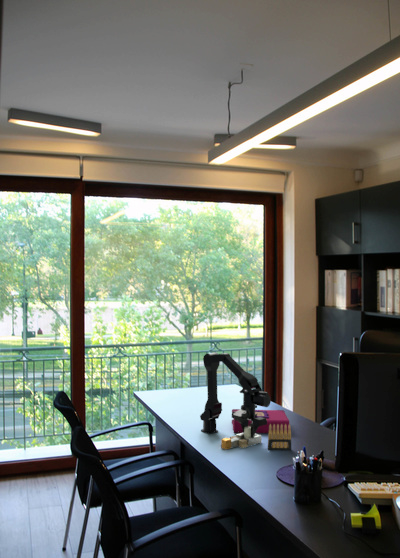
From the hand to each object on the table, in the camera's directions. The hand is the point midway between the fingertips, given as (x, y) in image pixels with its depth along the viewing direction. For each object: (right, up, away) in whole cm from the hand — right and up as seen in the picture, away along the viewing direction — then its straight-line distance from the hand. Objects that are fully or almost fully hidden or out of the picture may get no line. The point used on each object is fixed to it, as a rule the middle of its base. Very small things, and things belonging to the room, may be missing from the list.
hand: (248, 436), depth 254 cm
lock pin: (-9, -3, -7) cm, 11 cm away
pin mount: (-5, -3, -4) cm, 7 cm away
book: (+8, -3, +24) cm, 26 cm away
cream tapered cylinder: (0, -3, 0) cm, 3 cm away
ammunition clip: (+13, -4, -10) cm, 17 cm away
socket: (0, -3, 0) cm, 3 cm away
